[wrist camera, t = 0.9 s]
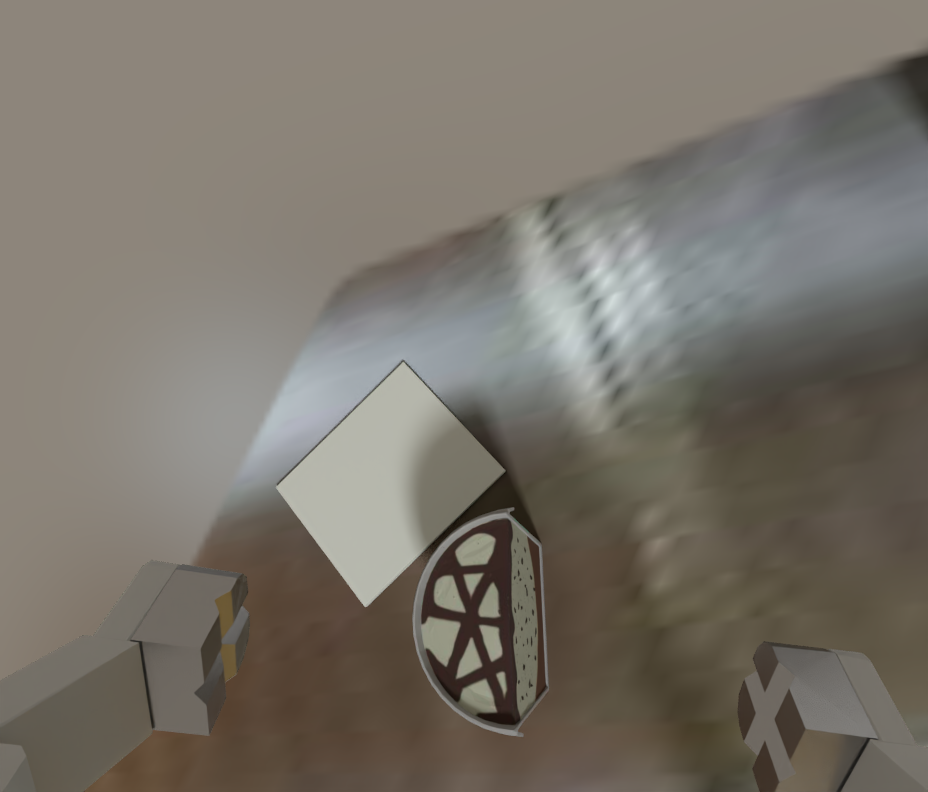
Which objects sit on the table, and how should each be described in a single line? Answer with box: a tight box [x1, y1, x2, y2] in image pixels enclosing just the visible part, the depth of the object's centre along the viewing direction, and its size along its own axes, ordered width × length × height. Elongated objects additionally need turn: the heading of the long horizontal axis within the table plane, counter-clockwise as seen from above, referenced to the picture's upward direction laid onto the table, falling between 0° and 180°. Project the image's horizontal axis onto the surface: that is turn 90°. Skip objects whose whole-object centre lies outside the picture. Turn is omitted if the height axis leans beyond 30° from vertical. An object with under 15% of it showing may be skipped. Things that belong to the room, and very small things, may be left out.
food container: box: [413, 507, 549, 737], centre depth 44 cm, size 12×6×10 cm, turn 2°
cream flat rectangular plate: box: [276, 362, 506, 607], centre depth 53 cm, size 14×12×1 cm
